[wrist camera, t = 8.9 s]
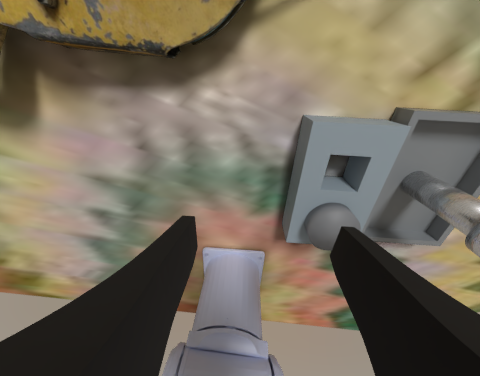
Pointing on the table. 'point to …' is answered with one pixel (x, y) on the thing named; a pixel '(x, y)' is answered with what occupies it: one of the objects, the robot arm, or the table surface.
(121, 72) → the table surface
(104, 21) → the pulley block
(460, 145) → the tray
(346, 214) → the block
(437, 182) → the lock pin
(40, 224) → the table surface
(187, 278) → the robot arm
